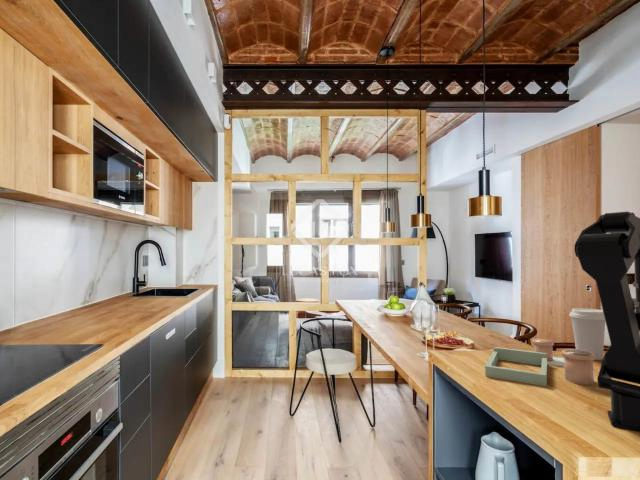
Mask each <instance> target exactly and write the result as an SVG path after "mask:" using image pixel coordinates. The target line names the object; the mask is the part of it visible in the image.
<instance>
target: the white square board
mask: <svg viewBox="0 0 640 480" xmlns="http://www.w3.org/2000/svg"><path fill="white" fill-rule="evenodd" d="M547 366H553V367H561V368H565V363H564V356H557V355H553V361H547Z"/></svg>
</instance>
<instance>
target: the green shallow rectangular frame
mask: <svg viewBox="0 0 640 480" xmlns="http://www.w3.org/2000/svg"><path fill="white" fill-rule="evenodd" d="M499 360H500V361H506V362H514V363H522V364H529V365H535V366H540V367H541V368H540V372H536V371H535V372H534V371H528V370H522V369H515V368H510V367H509V368H507V367H502V366H496V365H497V363H498V361H499ZM484 371H485V372H484V373H485V377H490V378H495V379H499V380H500V379H502V380H507V381H513V382H519V383H525V384H532V385H538V386H544V387H547V386H548V385H547V384H548V365H547V353H541V352H534V350H522V349H515V348H509V347H508V348H507V347H501V346H500V347H499V346H498V347H497V346H493V351H492V353H491V355H490V356H489V358H488V360H487V362H486V364H485V367H484Z"/></svg>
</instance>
